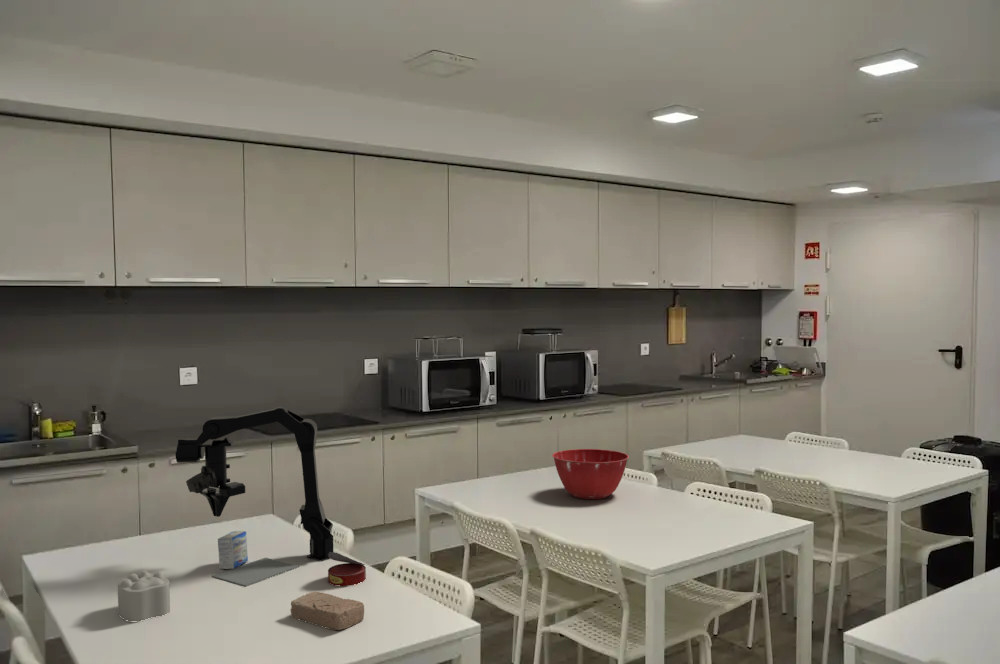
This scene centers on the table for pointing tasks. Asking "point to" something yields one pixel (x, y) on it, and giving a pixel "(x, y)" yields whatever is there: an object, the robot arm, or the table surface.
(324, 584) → the table surface
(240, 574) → the mat
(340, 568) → the canned food
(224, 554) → the medicine box
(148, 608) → the lumpy-topped squat cylinder
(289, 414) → the robot arm
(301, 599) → the brick
